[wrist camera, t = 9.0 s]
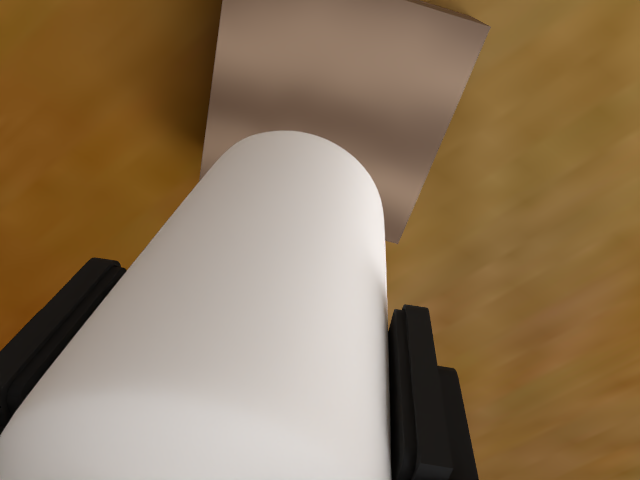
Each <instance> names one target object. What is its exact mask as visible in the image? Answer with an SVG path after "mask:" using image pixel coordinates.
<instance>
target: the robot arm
mask: <svg viewBox="0 0 640 480" xmlns="http://www.w3.org/2000/svg"><path fill="white" fill-rule="evenodd" d="M125 273H126V269H125V268H121V265H120V263H119V262H118V261H114V260H108V259H101V258H91V259H90V260H89V261H88V262H87V263H86V264H85V265H84V266H83V267H82V268H81V269H80V270H79V271H78V272H77V273H76V274H75V275H74V276H73V277H72V278H71V280H70V281H69V282H68V283H67V284H66V285H65V286H64V287H63V288H62V289H61V290H60V291H59V292H58V293H57V294H56V295H55V296H54V297H53V298H52V299H51V300H50V301H49V302H48V304H47V305H46V306H45V307H44V308H43V309H41V310H40V311H39V312H38V313H37V314H36V315H35V316H34V317H33V318H32V319H31V320H30V321H29V322H28V323H27V324H26V325H25V326H24V327H23V328H22V329H21V330H20V332H19V333H18V334H17V335H16V336H15V337H14V338H13V339H12V340H11V341H10V342H9V343H8V344H7V345H6V346H5V347H4V348H3V349H2V350H1V351H0V435H1V433H2V432H3V430H4V429H5V427H6V426H7V424H8V423H9V421H10V419H11V418H12V416H13V415H14V413H15V412H16V410H17V409H18V408H19V406H20V405H21V404H22V403H23V401H24V400H25V399H26V397H27V396H28V395H29V393H30V392H31V391H32V389H33V388H34V387H35V385H36V384H37V383H38V381H39V380H40V379H41V378H42V376H43V375H44V374H45V373H46V371H47V370H48V369H49V368H50V366H51V365H52V364H53V362H54V361H55V360H56V359H57V357H58V356H59V355H60V354H61V352H62V351H63V350H64V349H65V347H66V346H67V345H68V344H69V342H70V341H71V340H72V339H73V337H74V336H75V335H76V333H77V332H78V331H79V330H80V328H81V327H82V326H83V325H84V324H85V322H86V321H87V320H88V319H89V317H90V316H91V315H92V314H93V312H94V311H95V310H96V309H97V307H98V306H99V305H100V304H101V302H102V301H103V300H104V299H105V297H106V296H107V295H108V294H109V292H110V291H111V290H112V289H113V287H114V286H115V285H116V284H117V282H118V281H119V280H120V279H121V277H122V276H123V275H124V274H125ZM388 349H389V386H390V426H391V476H392V480H479V479H478V474H477V469H476V464H475V459H474V454H473V449H472V444H471V439H470V434H469V429H468V424H467V419H466V414H465V409H464V404H463V399H462V394H461V389H460V384H459V379H458V375H457V372H456V370H455V369H454V368H448V367H442V366H437V360H436V354H435V347H434V341H433V334H432V328H431V321H430V315H429V310H428V308H425V307H419V306H412V305H404V306H403V308H402V310H398V309H395V310H394V312H393V316H392V320H391V324H390V328H389V331H388Z"/></svg>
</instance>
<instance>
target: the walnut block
mask: <svg viewBox="0 0 640 480" xmlns="http://www.w3.org/2000/svg"><path fill="white" fill-rule="evenodd" d="M489 30H490V26H488V25H486V24H484V23H483V22H481V21H479V20H477V19H475V18H473V17H471V16H468V15H465V14H462V13H458V12H455V11H452V10H449V9H446V8H442V7H439V6H436V5H433V4H429V3H426V2H423V1H420V0H223V1H222V9H221V17H220V25H219V32H218V40H217V48H216V56H215V63H214V71H213V79H212V87H211V94H210V102H209V110H208V118H207V125H206V133H205V141H204V149H203V156H202V164H201V172H200V180H201V179H202V178H203V177H204V175H205V174H206V173H207V172H208V171H209V169H210V168H211V167H212V166H213V165H214V164H215V162H216V161H217V160H218V159H219V158H220V157H221V156H222V155H223V154H224V153H225V152H226V151H227V150H228V149H229V148H231V147H232V146H233V145H234V144H236V143H237V142H239V141H241V140H242V139H244V138H247V137H249V136H252V135H255V134H260V133H264V132H271V131H298V132H304V133H309V134H313V135H316V136H319V137H322V138H324V139H327V140H329V141H331V142H333V143H335V144H336V145H338V146H340V147H341V148H343V149H344V150H346V151H347V152H348V153H350V154H351V155H352V156H353V157H354V158H356V159H357V160H358V161H359V162H360V164H361V165H362V166H363V167H364V168H365V169H366V171H367V172H368V173H369V175H370V176H371V178H372V180H373V181H374V183H375V185H376V187H377V190H378V192H379V195H380V199H381V202H382V207H383V214H384V229H385V240H386V241H389V242H393V243H396V244H398V243H399V240H400V238H401V236H402V233H403V231H404V229H405V226H406V224H407V222H408V219H409V217H410V215H411V212H412V210H413V208H414V205H415V203H416V201H417V198H418V196H419V194H420V191H421V189H422V187H423V184H424V182H425V179H426V177H427V175H428V172H429V170H430V168H431V165H432V163H433V161H434V158H435V156H436V154H437V151H438V149H439V147H440V144H441V142H442V140H443V137H444V135H445V133H446V130H447V128H448V126H449V123H450V121H451V119H452V116H453V114H454V112H455V109H456V107H457V105H458V102H459V100H460V98H461V95H462V93H463V91H464V88H465V86H466V84H467V81H468V79H469V77H470V74H471V72H472V70H473V67H474V65H475V63H476V60H477V58H478V56H479V53H480V51H481V49H482V46H483V44H484V42H485V39H486V37H487V34H488V32H489ZM200 180H199V181H200Z"/></svg>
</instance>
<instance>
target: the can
mask: <svg viewBox="0 0 640 480" xmlns="http://www.w3.org/2000/svg"><path fill="white" fill-rule="evenodd" d="M0 480H392V476H391V426H390V386H389V349H388V314H387V282H386V253H385V229H384V214H383V207H382V202H381V199H380V195H379V192H378V190H377V187H376V185H375V183H374V181H373V180H372V178H371V176H370V175H369V173H368V172H367V171H366V169H365V168H364V167H363V166H362V165H361V164H360V162H359V161H358V160H357V159H356V158H354V157H353V156H352V155H351V154H350V153H348V152H347V151H346V150H344V149H343V148H341V147H340V146H338V145H336V144H335V143H333V142H331V141H329V140H327V139H324V138H322V137H319V136H316V135H313V134H309V133H304V132H298V131H271V132H264V133H260V134H255V135H252V136H249V137H247V138H244V139H242V140H241V141H239V142H237V143H236V144H234V145H233V146H232V147H231V148H229V149H228V150H227V151H226V152H225V153H224V154H223V155H222V156H221V157H220V158H219V159H218V160H217V161H216V162H215V164H214V165H213V166H212V167H211V168H210V169H209V171H208V172H207V173H206V174H205V175H204V177H203V178H202V179H201V180H200V181H199V183H198V184H197V185H196V186H195V188H194V189H193V190H192V191H191V192H190V194H189V195H188V196H187V197H186V199H185V200H184V201H183V202H182V203H181V205H180V206H179V207H178V208H177V210H176V211H175V212H174V213H173V215H172V216H171V217H170V218H169V219H168V221H167V222H166V223H165V224H164V226H163V227H162V228H161V229H160V230H159V232H158V233H157V234H156V235H155V237H154V238H153V239H152V240H151V242H150V243H149V244H148V245H147V247H146V248H145V249H144V250H143V251H142V253H141V254H140V255H139V256H138V258H137V259H136V260H135V261H134V263H133V264H132V265H131V266H130V268H129V269H128V270H127V271H126V273H125V274H124V275H123V276H122V277H121V279H120V280H119V281H118V282H117V284H116V285H115V286H114V287H113V289H112V290H111V291H110V292H109V294H108V295H107V296H106V297H105V299H104V300H103V301H102V302H101V304H100V305H99V306H98V307H97V309H96V310H95V311H94V312H93V314H92V315H91V316H90V317H89V319H88V320H87V321H86V322H85V324H84V325H83V326H82V327H81V328H80V330H79V331H78V332H77V333H76V335H75V336H74V337H73V339H72V340H71V341H70V342H69V344H68V345H67V346H66V347H65V349H64V350H63V351H62V352H61V354H60V355H59V356H58V357H57V359H56V360H55V361H54V362H53V364H52V365H51V366H50V368H49V369H48V370H47V371H46V373H45V374H44V375H43V376H42V378H41V379H40V380H39V381H38V383H37V384H36V385H35V387H34V388H33V389H32V391H31V392H30V393H29V395H28V396H27V397H26V399H25V400H24V401H23V403H22V404H21V405H20V406H19V408H18V409H17V410H16V412H15V413H14V415H13V416H12V418H11V419H10V421H9V423H8V424H7V426H6V427H5V429H4V430H3V432H2V433H1V435H0Z"/></svg>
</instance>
